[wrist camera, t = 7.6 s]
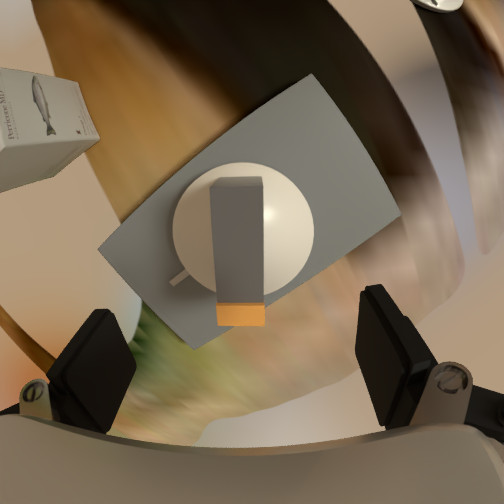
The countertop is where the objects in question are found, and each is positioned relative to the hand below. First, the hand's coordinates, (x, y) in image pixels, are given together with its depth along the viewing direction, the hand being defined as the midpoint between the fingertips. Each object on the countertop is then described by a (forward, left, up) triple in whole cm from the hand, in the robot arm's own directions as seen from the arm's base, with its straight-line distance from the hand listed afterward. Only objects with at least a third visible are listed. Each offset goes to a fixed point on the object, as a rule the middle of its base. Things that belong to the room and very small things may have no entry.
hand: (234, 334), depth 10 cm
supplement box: (+9, -19, -16) cm, 26 cm away
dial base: (0, 0, -16) cm, 16 cm away
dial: (+1, 0, -14) cm, 14 cm away
